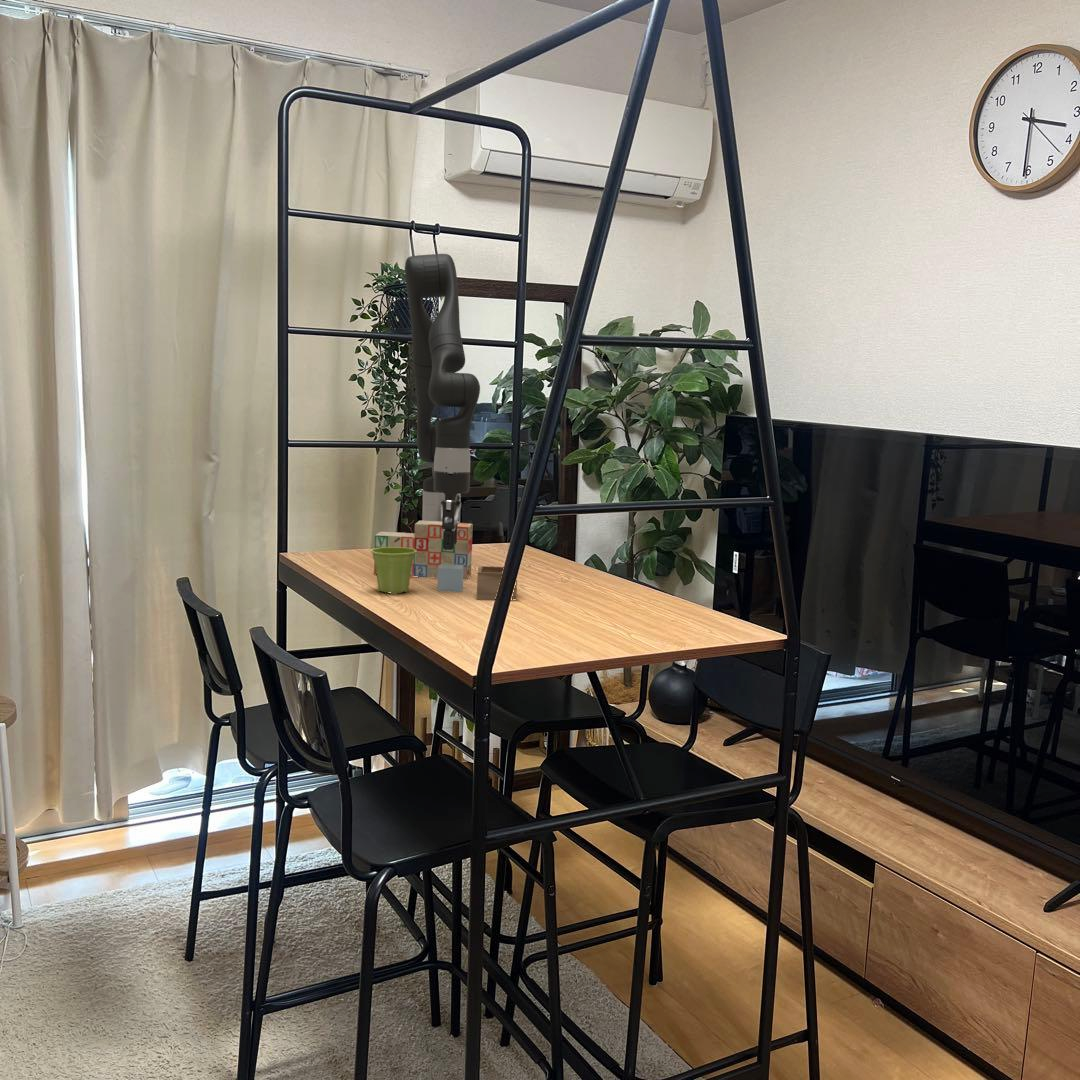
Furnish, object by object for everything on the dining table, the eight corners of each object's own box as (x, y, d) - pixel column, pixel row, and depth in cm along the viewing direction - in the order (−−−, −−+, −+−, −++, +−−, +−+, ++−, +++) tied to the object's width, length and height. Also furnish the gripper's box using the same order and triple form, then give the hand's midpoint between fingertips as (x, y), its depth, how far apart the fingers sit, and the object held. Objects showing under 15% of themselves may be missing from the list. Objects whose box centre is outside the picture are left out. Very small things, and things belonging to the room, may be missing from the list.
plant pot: (371, 595, 212) (371, 553, 211) (369, 587, 221) (369, 546, 220) (417, 595, 214) (418, 553, 213) (413, 587, 223) (414, 546, 222)
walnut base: (478, 591, 220) (479, 566, 219) (516, 593, 220) (517, 567, 220) (476, 599, 212) (477, 572, 212) (516, 600, 212) (517, 573, 212)
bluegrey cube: (439, 587, 225) (439, 564, 224) (462, 588, 225) (463, 565, 224) (437, 591, 220) (438, 568, 219) (461, 592, 220) (462, 568, 219)
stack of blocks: (373, 575, 236) (373, 521, 234) (379, 571, 242) (380, 518, 240) (467, 580, 234) (468, 525, 232) (471, 575, 240) (473, 522, 238)
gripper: (437, 467, 226) (435, 541, 228) (430, 470, 211) (428, 550, 213) (471, 468, 226) (469, 543, 228) (468, 472, 212) (465, 552, 214)
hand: (449, 546), depth 221 cm, fingers open, 8 cm apart
